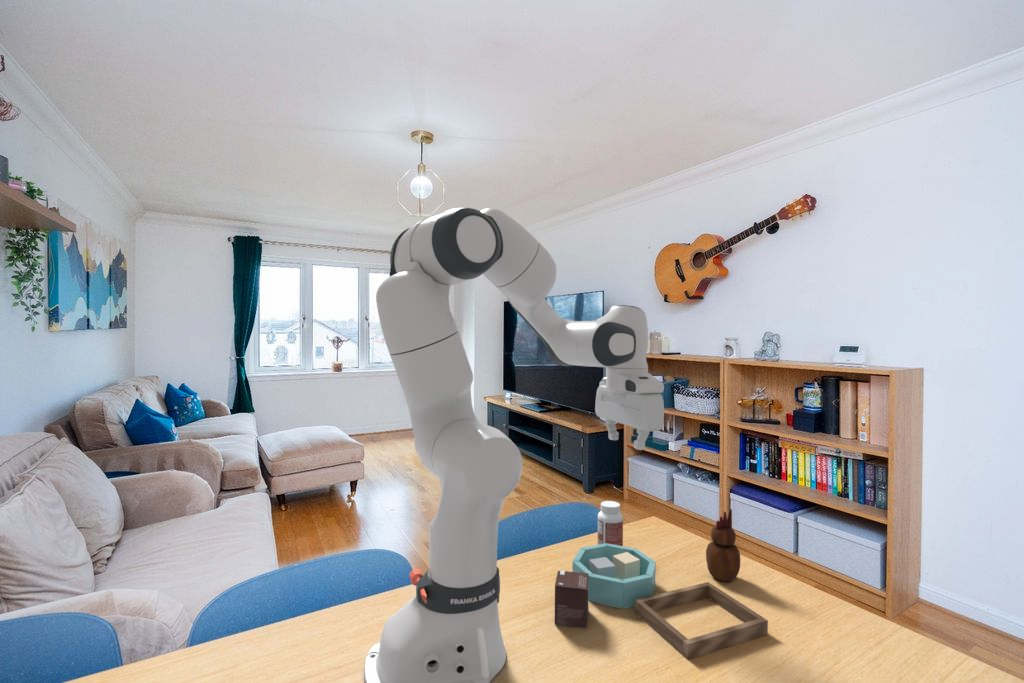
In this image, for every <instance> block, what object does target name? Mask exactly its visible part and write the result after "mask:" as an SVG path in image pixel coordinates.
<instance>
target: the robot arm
mask: <svg viewBox="0 0 1024 683" xmlns="http://www.w3.org/2000/svg"><path fill="white" fill-rule="evenodd" d="M389 253H390V255H389V256H390V258H389V264H390V268H389V277H387V278H386V279H385V280H384V281H383V282H382V283H381V284H380V285H379V286H378V289H377V291H376V294H375V301H376V308H377V314H378V319H379V323H380V327H381V331H382V335H383V338H384V341H385V342H384V343H385V344H386V347H387V351H388V353H389V356H390V358H391V361H392V364H393V367H394V369H395V372H396V375H397V378H398V380H399V382H400V385H401V388H402V390H403V394H404V398H405V399H406V403H407V407H408V411H409V417H410V422H411V427H412V431H413V436H414V447H415V451H416V454H417V456H418V459H420V462H421V464H422V465H423V466H424V468H425V469H426V470H427V471H428V472H429V473H431V474H433V475H434V476H435V477H436V478H438V480H439V482H440V486H441V487H440V488H441V492H440V498H439V503H438V507H437V511H436V514H435V516H434V517H433V518H432V519H431V521H430V524H429V528H428V530H429V531H428V537H429V538H428V569H427V570H426V572H425V573H424V574H422V570H420V569H419V568H414V569H412V570H411V572H410V573H409V579H410V583H411V584H412V585H413V586H415V588H416V589H415V595H414V596H413V597H412V598H411V599H410V600H409V601H407V602H406V603H405V604H404V605H403V606H402V607H401V608H399V609H398V610H397V611H395V612H394V613H393V614H392V615H391V616H390V617H389V618H388V619H387V620H386V622H385V624H384V626H383V628H382V631H381V636H380V640H379V641H380V642H378V643H377V642H376V643H375V644H374V645H372V646H371V647H370V649H369V650H368V652H367V654H366V657H365V660H364V667H363V677H364V679H363V680H364V683H491V681H492V680H493V679H494V678H495V677H496V676H497V675H498V674H499V672H500V671H501V670H502V668H503V667H504V665H505V663H506V659H507V650H506V647H505V644H504V640H503V636H502V635H503V634H502V630H501V625H500V617H499V616H500V613H499V603H500V594H501V579H500V578H501V576H500V568H499V567H498V565H497V564H498V562H497V561H498V530H499V522H500V516H501V513H502V509H503V506H504V502H505V499H506V498H507V497H508V496H509V495H511V493H512V492H514V490H515V489H516V487H517V486H518V484H519V483H520V480H521V477H522V473H523V468H524V467H523V457H522V454H521V451H520V449H519V447H518V446H517V445H516V444H515V443H514V442H513V441H512V439H511V438H509V436H507V435H506V434H505V433H504V432H502V431H501V430H500V429H498V428H496V427H494V426H491V425H489V424H485V423H482V422H481V421H479V419H478V418H477V416H476V414H475V412H474V408H473V404H472V403H473V402H472V391H471V388H472V383H473V380H474V373H473V370H472V367H471V365H470V361H469V358H468V356H467V353H466V349H465V347H464V344H463V341H462V338H461V335H460V332H459V329H458V327H457V324H456V321H455V318H454V316H453V313H452V312H451V307H450V302H449V301H450V300H449V296H450V295H449V294H450V289H451V286H453V285H458V284H460V283H463V282H465V281H467V280H473V279H476V278H479V277H480V276H481V275H483V276H485V278H486V279H487V280H488V281H489V282H490V283H492V285H493V286H495V287H496V288H497V289H498V290H499V291H500V292H501V293H502V294H503V295H504V296H505V297H506V298H507V301H508V303H509V305H510V306H511V308H512V309H513V310H514V311H515V312H516V313H517V315H518V316H519V317H520V318H521V319H522V320H523V321H524V323H526V325H528V327H530V329H531V330H532V331H533V332H534V333H535V334H536V335H537V337H539V338H540V340H541V342H542V343H543V345H544V347H545V349H546V351H547V353H548V355H549V357H550V358H551V359H552V361H553V362H554V363H556V364H558V365H559V366H563V367H576V366H579V367H588V368H589V367H590V368H591V367H592V368H593V367H596V368H605V377H603V378H602V379H601V380H600V381H599V384H598V385H599V386H598V387H597V389H596V396H595V407H594V412H595V415H596V416H597V417H598V418H601V419H604V420H605V421H604V422H605V426H606V429H607V432H608V433H607V434H608V435H607V436H608V437H607V438H608V439H609V440H611V441H618V440H619V434H620V433H619V431H617V426H616V424H617V423H618V424H621V425H624V426H625V425H626V426H628V427H632V428H635V429H636V434H638V435H637V437H636V439H635V440H633V448H634V449H635V450H637V451H643V450H645V449H646V441H647V439H648V438H649V435H650V432H659V431H661V430H662V428H663V426H664V422H665V420H664V419H665V405H664V404H665V403H664V399H663V396H662V394H661V393H664V390H665V384H664V382H662V380H659V379H658V378H657V377H655V376H653V375H652V374H651V373H649V365H648V362H647V361H648V360H647V352H648V349H649V330H648V329H649V328H648V320H647V315H646V313H645V311H644V310H643V309H642V308H640V307H638V306H634V305H625V304H617V305H613V306H611V307H610V308H609V311H608V312H607V313H606V314H604V315H603V316H601V317H599V318H597V319H596V320H581V321H580V320H570V319H566V318H563V317H561V316H560V315H559V314H558V312H557V311H556V310H555V309H554V308H553V307H552V305H551V304H550V303H549V302H548V301H547V300H546V298H547V297H548V296H549V294H550V292H551V291H552V289H553V287H554V285H555V283H556V279H557V264H556V262H555V261H554V259H553V257H552V255H551V254H550V252H549V251H548V250H547V249H546V248H545V247H544V245H542V244H541V243H540V242H539V241H538V239H537V238H535V237H534V235H532V233H530V232H529V231H528V230H527V229H526V227H523V225H521V223H519V222H517V220H515V219H514V218H512V217H511V216H509V215H508V214H507V213H505V212H504V211H502V210H500V209H498V208H494V207H489V208H483V209H481V210H478V209H476V208H472V207H455V208H451V209H447V210H445V211H444V212H443V213H439V214H437V215H433V216H429V217H426V218H424V219H422V220H420V221H418V222H417V223H415V224H414V225H412V226H411V227H408V228H406V229H404V230H403V231H401V233H399V235H398V236H397V237H396V238H395V240H394V242H393V244H392V247H391V249H390V252H389Z"/></svg>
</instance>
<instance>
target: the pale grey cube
mask: <svg viewBox="0 0 1024 683" xmlns="http://www.w3.org/2000/svg"><path fill="white" fill-rule="evenodd" d="M589 571H591V572H592V573H593V574H597V575H602V576H606V577H611V578H615V565H614V564H613V563H612V562H611V561H610V560H609V559H608V558H606V557H603V558H596V559H590V560H589Z"/></svg>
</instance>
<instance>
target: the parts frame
mask: <svg viewBox="0 0 1024 683" xmlns="http://www.w3.org/2000/svg"><path fill="white" fill-rule="evenodd" d="M705 599H709V600H711V601H712V602H713V603H715V604H716V605H717V606H719V607H721V608H723V609H724V610H725V611H726V612H728V613H729V614H731V615H733V616H734V617H735V618H737V619H739V620H740V621H741V622H742V623H739V624H735V625H731V626H728V627H725V628H722V629H717V630H716V631H712V632H708V633H706V634H702V635H698V636H695V637H691V638H688V637H686V636H685V635H684V634H682V633H681V632H680V631H679V630H678V629H676V628H675V626H673V625H672V624H670V622H669V621H668V620H665V619H664V618H663V617H662V616H661V615H660V614H658V613H657V612H658V611H662V610H666V609H668V608H672V607H677V606H681V605H685V604H689V603H692V602H696V601H700V600H705ZM634 613H635V614H636V615H637V616H638V617H639V618H640V619H641V620H642V621H644V623H646V624H647V625H648V626H649V627H650V628H652V630H654V631H655V632H656V633H657V634H658V635H659V636H660V637H661V638H663V639H664V640H665V641H666V642H667V643H668V644H669V645H670V646H672V647H673V648H674V649H675V650H677V651H678V653H680V654H681V655H682V656H683V657H684V658H685V659H686V660H688V661H689V660H690V659H693V658H696V657H697V658H698V657H700V656H702V655H706V654H710V653H713V652H716V651H719V650H722V649H724V648H729V647H731V646H735V645H738V644H742V643H744V642H748V641H750V640H754V639H757V638H760V637H764V636H767V635H768V634H769V633H768V632H769V631H768V630H769V629H768V628H769V624H768V623H769V621H768V619H767V618H765V617H763V615H760V614H759V613H756V611H754V610H752V609H751V608H749V607H747V605H744V604H743V603H741V602H740V601H739V600H737V599H735V598H734V597H732V596H730V595H729V594H728V593H726V592H725V591H723V590H721V589H720V588H718V587H717V586H715V585H714V584H712V583H710V582H709V581H707V582H703V583H699V584H693V585H691V586H690V585H689V586H686V587H682V588H677V589H674V590H670V591H666V592H662V593H657V594H653V596H649V597H644V598H640V599H636V600H635V606H634Z"/></svg>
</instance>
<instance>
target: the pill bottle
mask: <svg viewBox="0 0 1024 683" xmlns="http://www.w3.org/2000/svg"><path fill="white" fill-rule="evenodd" d="M620 510H621V504H620V503H619V502H617V501H614V500H605V501H601V503H600V511H599V512H598V513H597V545H599V544H605V543H608V544H613V545H619V546H624V517H623V514H622V513H621V512H620Z"/></svg>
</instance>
